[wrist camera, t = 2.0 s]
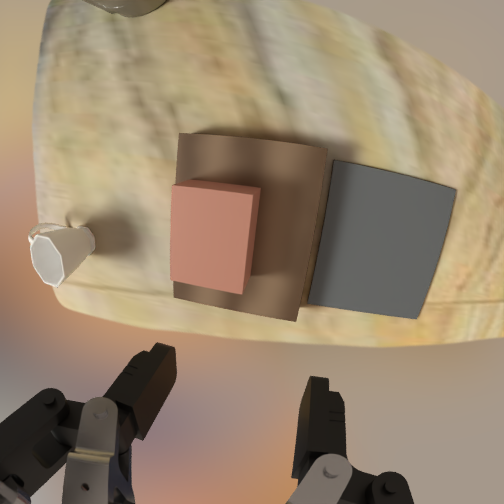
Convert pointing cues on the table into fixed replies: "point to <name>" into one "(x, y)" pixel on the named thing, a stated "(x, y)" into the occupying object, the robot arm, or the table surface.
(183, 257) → the block
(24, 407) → the robot arm
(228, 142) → the platform
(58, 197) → the table surface
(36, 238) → the cup
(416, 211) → the mat
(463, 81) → the table surface
